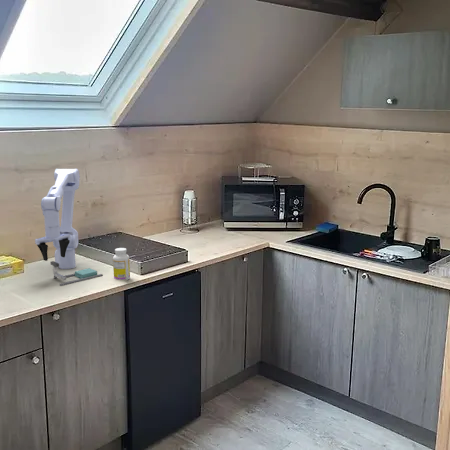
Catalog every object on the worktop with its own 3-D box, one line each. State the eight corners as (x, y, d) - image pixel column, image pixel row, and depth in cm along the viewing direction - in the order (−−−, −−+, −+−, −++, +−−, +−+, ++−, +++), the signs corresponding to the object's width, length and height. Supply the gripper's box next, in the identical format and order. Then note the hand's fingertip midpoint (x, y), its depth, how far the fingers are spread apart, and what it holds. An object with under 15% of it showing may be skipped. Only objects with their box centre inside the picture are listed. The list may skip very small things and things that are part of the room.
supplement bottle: (122, 275, 242) (121, 246, 240) (133, 278, 238) (132, 248, 235) (110, 279, 237) (109, 249, 235) (121, 282, 233) (119, 252, 230)
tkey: (51, 277, 237) (50, 261, 235) (54, 276, 238) (53, 261, 236) (63, 282, 230) (62, 266, 228) (66, 282, 231) (65, 266, 229)
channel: (49, 282, 233) (49, 279, 233) (90, 273, 246) (90, 269, 245) (61, 288, 226) (60, 284, 226) (102, 277, 239) (102, 274, 239)
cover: (75, 278, 239) (74, 271, 238) (89, 275, 244) (89, 268, 243) (82, 282, 235) (82, 274, 234) (97, 278, 239) (97, 271, 239)
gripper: (40, 230, 223) (42, 263, 226) (73, 224, 233) (75, 257, 236) (31, 227, 228) (34, 260, 231) (64, 222, 238) (66, 253, 241)
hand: (54, 258), depth 234 cm, fingers open, 7 cm apart
